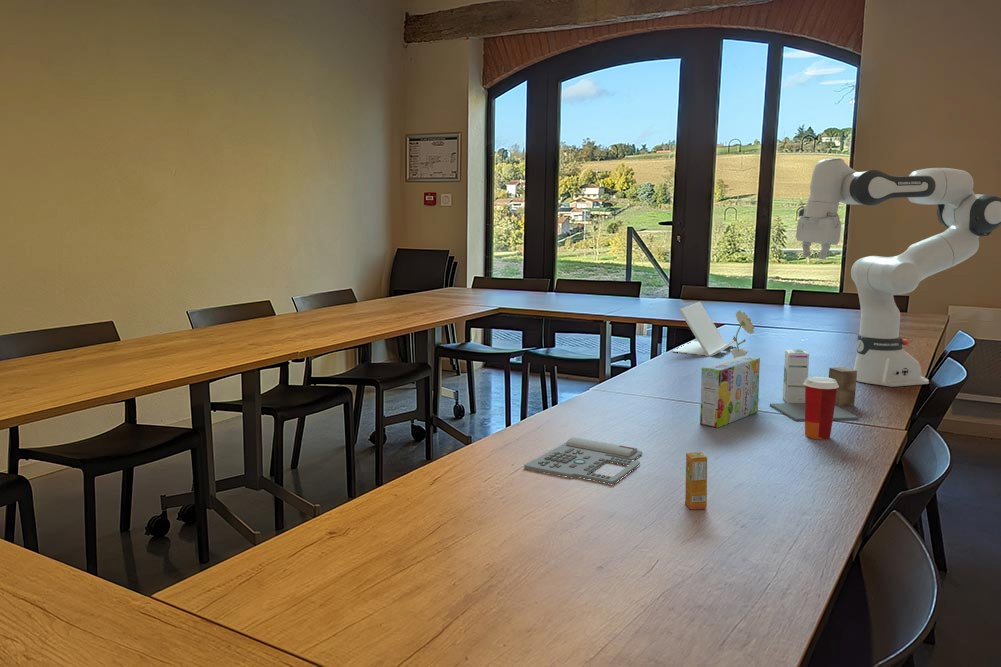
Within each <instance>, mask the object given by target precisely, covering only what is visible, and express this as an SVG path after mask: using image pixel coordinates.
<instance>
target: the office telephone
mask: <svg viewBox="0 0 1001 667" xmlns="http://www.w3.org/2000/svg"><path fill="white" fill-rule="evenodd" d="M641 454H642V455H643V451H642V450H639V449H638V448H636V447H630V446H625V445H620V444H614V443H608V442H603V441H598V440H592V439H588V438H587V439H586V438H579V437H575V436H572V437H570V438H568V440H567V441H566V442H564V443H563V444H561V445H559V446H557V447H555V448H553V449H551V450H549V451H548V452H546V453H544V454H542V455H540V456H539V457H536V458H534V459H533V460H530V461H528V462H527V463H525V464H523V466H524V469H525V470H528V471H532V470H534V471H533V472H537V471H540V472H539V473H542V472H545V473H544V474H547V473H550V474H549V475H552V474H554V475H553V476H557V475H560V476H559V477H562V476H567V477H581V478H585V479H591V480H595V481H600V482H605V483H609V484H614V483H616V482H617V481H618V480H620V479H621V478H622V477H624V476H625V475H626V474H628V473H629V472H630V471H632V470H633V469H635V468H636V467H637V466H638V465H639V464H640V465H641V462H640V461H638V460H637V459H638V458H637V457H639V456H640V455H641ZM642 455H641V456H642ZM641 456H640V457H641ZM640 457H639V458H640ZM636 458H637V459H636ZM635 459H636V460H635ZM632 460H634V461H632ZM605 462H606V463H607V462H613V463H618V464H624V465H629V466H625V467H624V468H623V469H622V470H620V471H619V472H617V473H616V474H615V475H613V476H610V475H606V474H601V473H595V471H596V470H597V469H596V468H598V467H599V466H600V467H602V466H603V465H605V464H606V463H605ZM604 463H605V464H604ZM613 463H612V464H613ZM602 464H603V465H602ZM618 464H617V465H618ZM601 465H602V466H601ZM640 465H639V466H640ZM600 467H599V468H600ZM599 468H598V469H599ZM637 468H638V467H637ZM637 468H636V469H637ZM595 469H596V470H595ZM636 469H635V470H636ZM594 470H595V471H594ZM592 471H593V472H592ZM591 472H592V473H591ZM632 472H633V471H632ZM628 475H629V474H628ZM567 477H566V478H567ZM624 478H625V477H624ZM585 479H584V480H585ZM595 481H594V482H595ZM620 481H621V480H620ZM600 482H599V483H600ZM605 483H604V484H605ZM616 484H617V483H616Z"/></svg>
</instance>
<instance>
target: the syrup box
mask: <svg viewBox="0 0 1001 667" xmlns="http://www.w3.org/2000/svg"><path fill="white" fill-rule="evenodd" d="M809 359H810V353H809V352H807V351H806V350H805V349H795V348H793V349H785V351H784V367H783V384H782V387H783V388H782V399H783V401H784V403H805V385H804V384H803V383H804V382H806V381H805V380H807V378H808V377H809V363H810V361H809Z"/></svg>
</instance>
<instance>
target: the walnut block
mask: <svg viewBox="0 0 1001 667" xmlns="http://www.w3.org/2000/svg"><path fill="white" fill-rule="evenodd" d="M828 370H829V372H828V378H832V379H835V380H836V381H837V384H838V385H839V388H837V394H836V401H835V406H837V407H839V408H846V407H855V400H856V390H857V381H856V379H857V370H853V368H850V367H846V366H838V367H829V369H828Z"/></svg>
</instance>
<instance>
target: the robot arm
mask: <svg viewBox="0 0 1001 667" xmlns="http://www.w3.org/2000/svg"><path fill="white" fill-rule="evenodd" d="M813 168H814V169H813V171H812V175H811V179H810V186H809V190H810V192H809V196H808V200H807V203H806V205H805V206H804V207H803V208H801V209H799V210H798V213H797V216H798V220H797V225H796V233H795V238H796V241H797V242H802V257H805V258H810V257H811V254H812V251H811V250H810V248H811V247H810V246H812V243H815V244H821V249H820V252H818V256H817V258H818V259H819V260H826V258H827V254H828V252H829V251H830V249H831V245H834V246H837V245H838V244H839V243H840V241H841V234H842V233H841V230H842V229H841V228H842V221H841V219H840V218H841V217H840V216H839V213H838V212H839V204H840V203H842V204H843V205H844V204H845V205H851V206H852V205H854V206H855V205H856V206H857V205H861V206H862V205H864V206H876V205H880V204H882V203H884V202H885V201H888V200H889V199H901V198H902V199H905V198H906V199H908V201H909V202H910V203H913V204H917V205H925V206H926V205H931V206H932V205H937V208H936V215H937V220H938V223H940V224H941V225H942V226H943V227H946V228H947V229H945V230H944V231H943V232H940V233H937V234H934V235H932V236H930V237H927V238H925V239H921V240H920V241H916V242H914V243H913V244H910V245H909V246H908V248H907V249H906V250H905V251H904V252H902V253H900V254H898V255H895V256H882V255H881V256H879V255H869V256H864V257H861V258H858V259H857V260H856V261H855V262H854V263H853V264H852V266H851V269H850V277H851V280H852V281H853V283H854V284H855V287H856V289H857V294H858V299H859V305H860V306H859V307H860V320H859V322H860V323H859V333H858V335H857V339H856V357H855V360H854V366H853V368H852V369H853V370H857V379H856V382H860V383H863V384H864V383H865V384H872V385H879V386H886V387H891V388H892V387H904V386H905V387H907V386H917V385H928V384H930V382H929V381H930V380H929V379H928V378H927V377H924V376H923V375H922V368H921V363H920V362H919V361H918V360H917V359H915V358H914V357H913V356H912V355H911V354H910V353H908V352H907V351H906V350H904V346H906V347H909V346H910V344H911V341H910V339H907V338H903V339H902V338H901V337H900V336H899V334H900V333H899V332H900V324H901V323H900V322H901V312H900V309H899V308H898V306H897V304H896V301H895V298H894V296H895V295H896V296H897V295H905V294H910V293H912V292H914V290H915V289H917V287H918V286H919V285H920V282H922V281H923V280H925V279H927V278H929V277H931V276H933V275H935V274H938V273H940V272H942V271H945V270H948V269H950V268H952V267H955V266H957V265H958V264H959V265H960V264H961V263H963V262H964V261H966V260H968V259H969V258H971V257H972V256H974V255H975V254H976V253H977V252H978V250H979V247H980V240H979V238H980V237H988V236H990V234H992V232H993V231H994V230H996V229H998V228H999V227H1000V226H1001V197H1000V196H997V195H993V194H981V193H980V194H979V193H975V192H974V190H973V189H974V186H975V185H974V178H973V176H972V175H971V173H970V172H968V171H966V170H963V169H957V168H948V167H930V168H922V169H916V170H913V171H912V172H910V174H909V175H895V176H894V175H890V174H887V173H885V172H883V171H881V170H875V169H871V170H870V169H869V170H866V171H865V170H864V171H857V170H855V169H853V168H852V167H851V166H849V165H848V164H847V163H846V161H845V160H844V159H843V158H839V157H838V158H827V159H820V160H819V161H818V162H816V164H815V165H814V167H813Z"/></svg>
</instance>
